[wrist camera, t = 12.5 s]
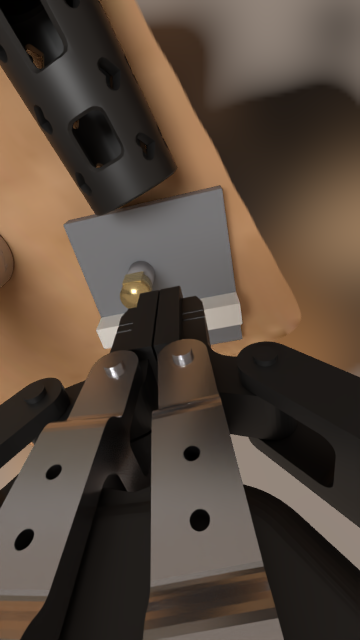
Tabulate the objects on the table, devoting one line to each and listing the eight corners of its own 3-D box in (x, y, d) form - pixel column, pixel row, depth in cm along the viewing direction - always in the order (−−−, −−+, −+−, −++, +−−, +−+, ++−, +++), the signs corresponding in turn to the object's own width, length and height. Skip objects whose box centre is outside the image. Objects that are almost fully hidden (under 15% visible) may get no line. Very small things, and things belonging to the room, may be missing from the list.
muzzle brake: (107, 204, 36) (83, 228, 27) (-111, -154, 23) (-297, -335, 14) (180, 161, 33) (180, 173, 24) (-15, -264, 20) (-165, -567, 11)
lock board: (121, 352, 47) (111, 387, 40) (68, 220, 36) (45, 239, 30) (239, 331, 45) (250, 364, 38) (219, 185, 34) (229, 198, 28)
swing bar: (120, 275, 34) (115, 286, 32) (148, 270, 34) (146, 280, 31) (148, 362, 40) (147, 377, 38) (172, 358, 40) (172, 373, 38)
